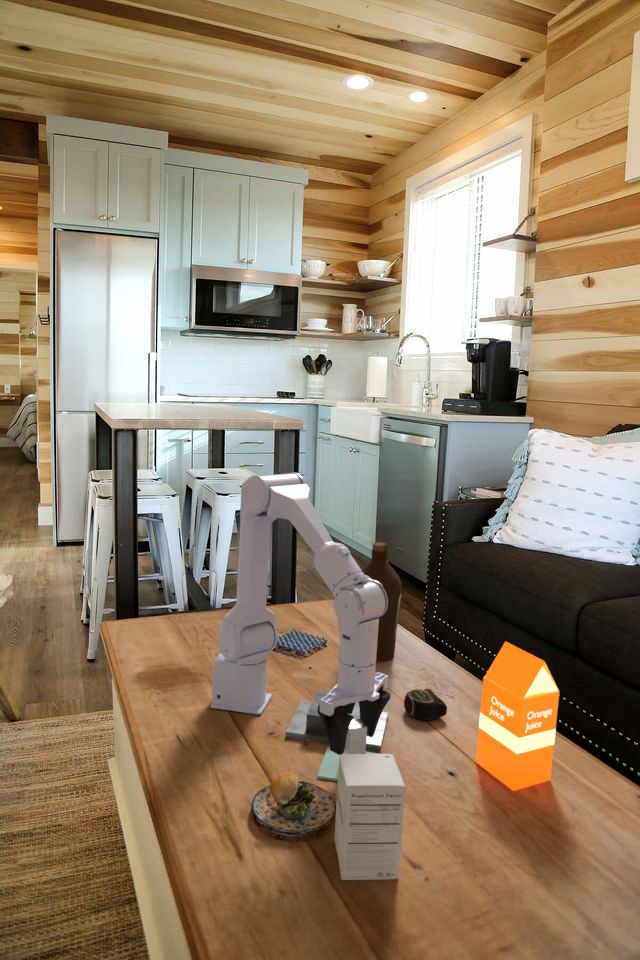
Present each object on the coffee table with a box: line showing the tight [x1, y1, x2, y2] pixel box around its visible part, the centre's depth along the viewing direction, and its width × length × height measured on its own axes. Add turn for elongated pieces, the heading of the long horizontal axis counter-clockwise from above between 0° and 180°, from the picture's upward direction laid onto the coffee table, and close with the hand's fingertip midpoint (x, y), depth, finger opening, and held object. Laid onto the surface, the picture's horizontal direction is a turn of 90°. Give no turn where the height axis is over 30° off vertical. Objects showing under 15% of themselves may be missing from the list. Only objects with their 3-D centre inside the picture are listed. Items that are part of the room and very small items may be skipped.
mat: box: [316, 745, 379, 782], centre depth 111 cm, size 9×9×1 cm
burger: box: [250, 766, 336, 843], centre depth 98 cm, size 12×12×8 cm
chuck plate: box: [285, 689, 389, 752], centre depth 123 cm, size 16×12×4 cm
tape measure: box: [403, 688, 448, 721], centre depth 129 cm, size 7×7×4 cm
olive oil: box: [360, 541, 403, 663], centre depth 155 cm, size 11×11×25 cm
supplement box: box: [334, 753, 406, 881], centre depth 88 cm, size 7×7×13 cm
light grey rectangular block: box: [343, 719, 367, 754], centre depth 110 cm, size 3×3×7 cm
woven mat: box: [273, 629, 329, 659], centre depth 159 cm, size 10×11×2 cm
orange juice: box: [475, 641, 560, 792], centre depth 110 cm, size 8×9×20 cm
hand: (352, 743), depth 110 cm, fingers open, 7 cm apart
